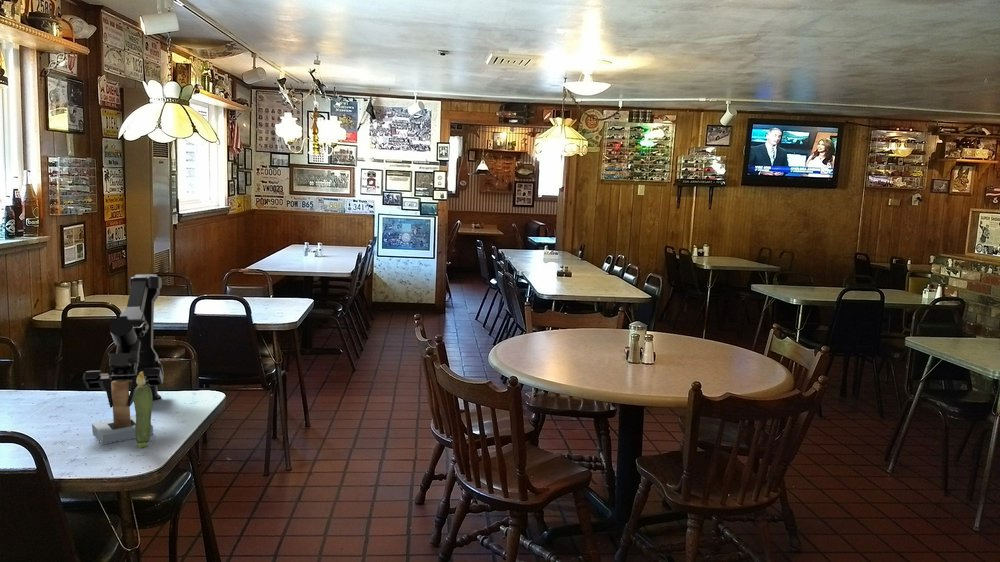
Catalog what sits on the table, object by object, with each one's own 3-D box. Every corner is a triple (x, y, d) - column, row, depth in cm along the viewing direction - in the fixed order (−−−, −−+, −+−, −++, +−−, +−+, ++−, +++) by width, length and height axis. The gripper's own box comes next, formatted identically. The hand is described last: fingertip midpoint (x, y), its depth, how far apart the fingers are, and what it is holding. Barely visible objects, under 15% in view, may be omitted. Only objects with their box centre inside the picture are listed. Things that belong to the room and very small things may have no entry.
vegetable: (136, 444, 182) (133, 368, 180) (155, 442, 184) (152, 367, 181) (134, 450, 178) (130, 373, 176) (153, 448, 180) (150, 371, 177)
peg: (110, 429, 189) (108, 382, 188) (124, 425, 193) (122, 378, 191) (120, 432, 187) (117, 384, 186) (134, 427, 191) (131, 380, 189)
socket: (92, 432, 191) (91, 423, 191) (140, 423, 199) (140, 414, 198) (102, 444, 182) (102, 435, 182) (153, 434, 190) (152, 425, 189)
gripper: (82, 341, 188) (72, 393, 179) (159, 338, 193) (153, 389, 184) (92, 363, 197) (83, 414, 188) (165, 360, 202) (160, 409, 193)
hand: (119, 406), depth 188 cm, fingers closed on peg, 4 cm apart
